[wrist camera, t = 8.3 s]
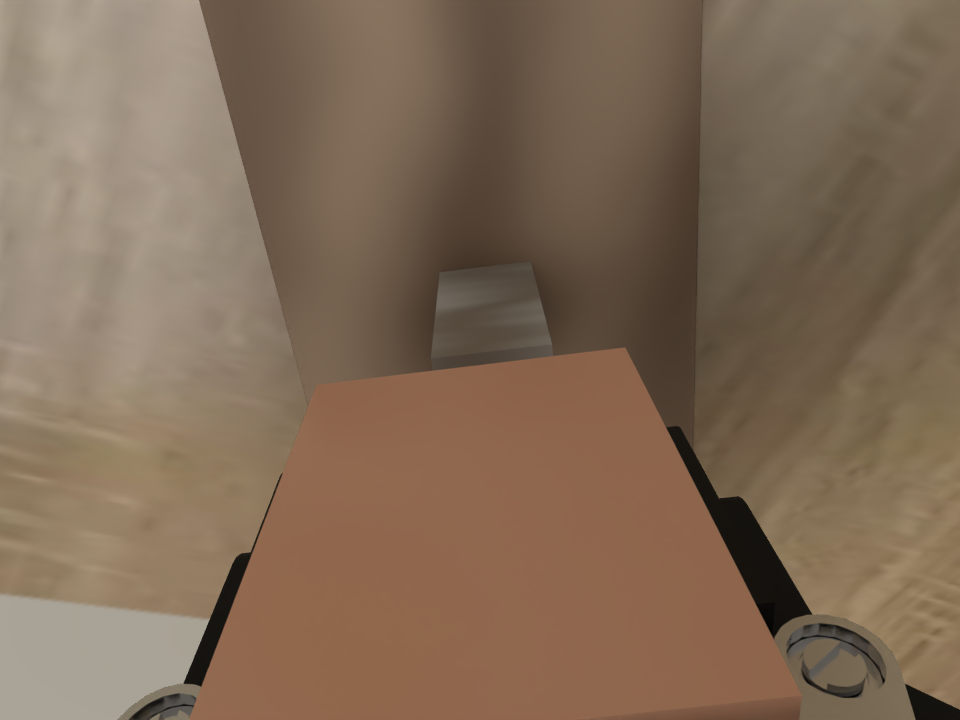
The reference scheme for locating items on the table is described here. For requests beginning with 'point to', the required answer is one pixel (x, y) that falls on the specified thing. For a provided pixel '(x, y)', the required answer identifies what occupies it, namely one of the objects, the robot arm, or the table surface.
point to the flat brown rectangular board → (473, 180)
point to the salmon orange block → (493, 562)
